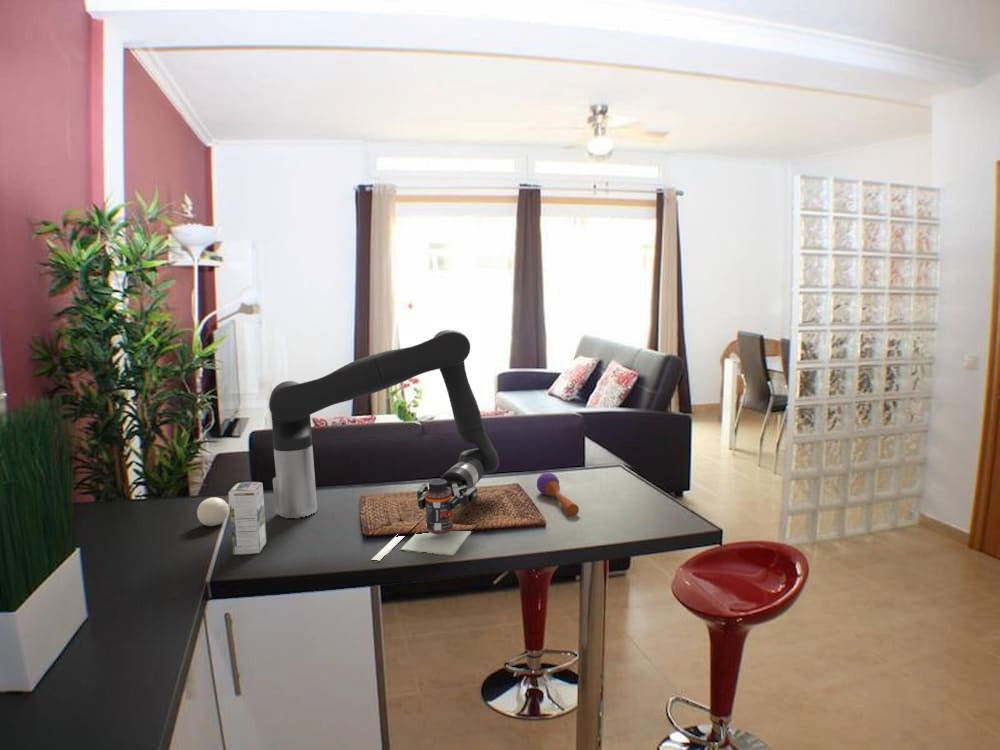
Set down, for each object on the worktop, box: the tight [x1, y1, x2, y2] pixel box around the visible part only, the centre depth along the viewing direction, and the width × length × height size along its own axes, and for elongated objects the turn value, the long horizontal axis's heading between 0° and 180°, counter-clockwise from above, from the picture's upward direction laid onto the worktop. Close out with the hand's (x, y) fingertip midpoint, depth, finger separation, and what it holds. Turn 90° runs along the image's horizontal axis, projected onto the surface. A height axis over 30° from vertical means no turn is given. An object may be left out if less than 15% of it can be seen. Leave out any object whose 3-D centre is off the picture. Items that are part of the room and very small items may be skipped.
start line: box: [371, 535, 406, 562], centre depth 147 cm, size 2×22×1 cm, turn 165°
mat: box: [400, 531, 472, 556], centre depth 147 cm, size 12×16×1 cm
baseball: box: [196, 496, 230, 527], centre depth 159 cm, size 7×7×7 cm
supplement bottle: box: [425, 478, 454, 534], centre depth 146 cm, size 6×6×11 cm
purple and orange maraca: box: [536, 472, 580, 517], centre depth 168 cm, size 6×6×20 cm
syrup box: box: [228, 481, 268, 556], centre depth 143 cm, size 6×6×14 cm
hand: (434, 505), depth 144 cm, fingers closed on supplement bottle, 6 cm apart
